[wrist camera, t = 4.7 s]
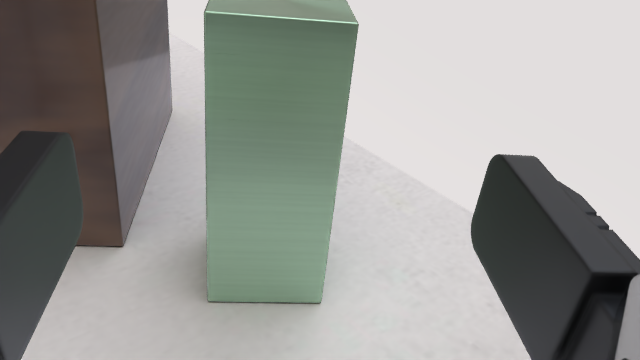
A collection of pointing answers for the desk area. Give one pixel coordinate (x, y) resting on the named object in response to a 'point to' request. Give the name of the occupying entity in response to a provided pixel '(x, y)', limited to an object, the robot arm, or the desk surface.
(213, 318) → the desk surface
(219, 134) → the pen tin
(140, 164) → the stand
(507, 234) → the robot arm
